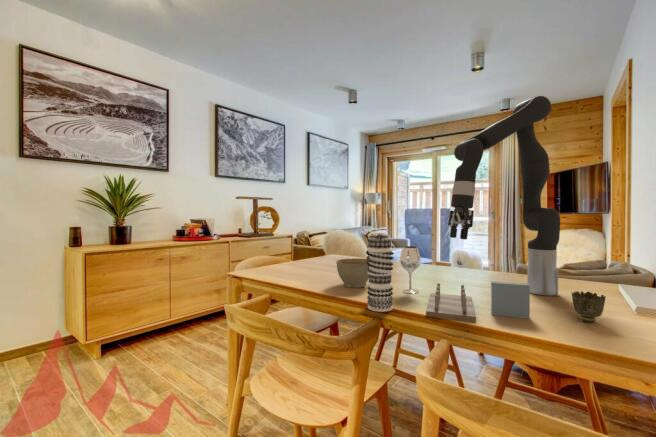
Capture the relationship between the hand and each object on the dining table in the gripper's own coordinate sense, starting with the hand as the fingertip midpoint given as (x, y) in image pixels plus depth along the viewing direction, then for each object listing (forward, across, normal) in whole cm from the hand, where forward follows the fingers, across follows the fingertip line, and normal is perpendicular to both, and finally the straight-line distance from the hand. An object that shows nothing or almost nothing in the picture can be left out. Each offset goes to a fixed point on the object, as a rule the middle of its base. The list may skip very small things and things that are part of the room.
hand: (457, 238), depth 110 cm
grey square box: (+22, -18, -11) cm, 30 cm away
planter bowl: (+26, +22, +33) cm, 48 cm away
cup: (+19, -24, -30) cm, 43 cm away
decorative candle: (+26, -9, +28) cm, 39 cm away
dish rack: (+23, -10, +4) cm, 26 cm away
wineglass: (+24, +11, +12) cm, 29 cm away
